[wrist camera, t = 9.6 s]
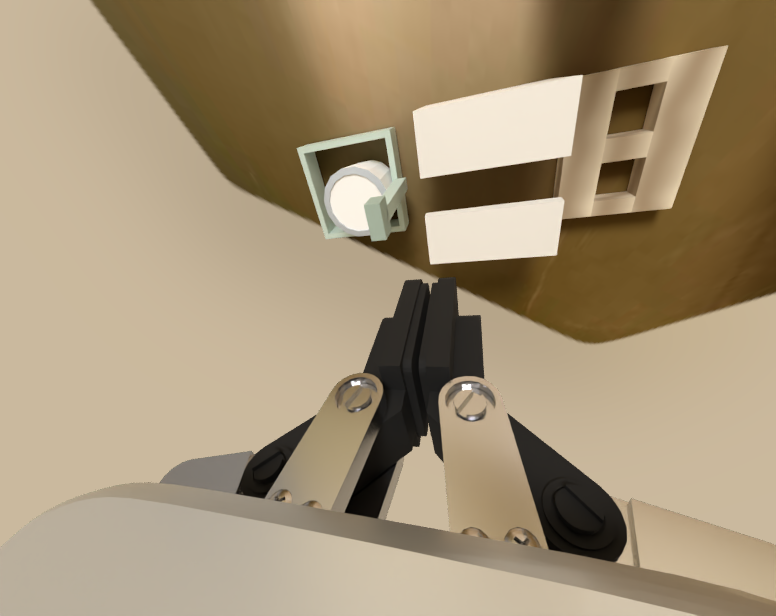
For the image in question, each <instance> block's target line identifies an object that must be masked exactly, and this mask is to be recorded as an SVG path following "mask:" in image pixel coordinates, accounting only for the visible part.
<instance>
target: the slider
mask: <svg viewBox="0 0 776 616" xmlns="http://www.w3.org/2000/svg"><path fill="white" fill-rule="evenodd" d="M381 138H385V141H386V147H387V153H388V159H389V165H390V171H391V177H392V183H391V185H390V186H389V187H388V188H387V190H386V191H385V192H384V194H383V195H382V196H377V197H370V199H369V200H368V201H367V202H366V203H365V204H364V209H365V214H366V218H367V222H368V227H369V231H370V236H371V240H372V241H380V240H387V238H388V236H389V234H390V232H399V231H406V229H407V226H408V224H409V219H408V212H407V205H406V198H405V193H406V191H407V182H406V177H405V178H402V171H401V164H400V158H399V151H398V144H397V137H396V130H395V127H391V128H386V129H381V130H376V131H371V132H366V133H362V134H357V135H352V136H347V137H342V138H337V139H332V140H327V141H322V142H318V143H313V144H308V145H305V146H302V147H299V148H297V151H298V154H299V157H300V160H301V163H302V166H303V169H304V172H305V176H306V179H307V182H308V185H309V188H310V191H311V194H312V198H313V201H314V204H315V207H316V210H317V213H318V216H319V220H320V223H321V226H322V229H323V232H324V235H325V238H326V239H332V238H341V237H351V236H355V235H351V234H348V233H346V232H344V231H343V230H341V229H340V228H339V227H337V226H336V225H335V224H334V222H333V221H332V220H331V218H330V217H329V215H328V213H327V210H326V207H325V203H324V193H325V186H324V182H323V179H322V176H321V172H320V169H319V165H318V162H317V158H316V155H315V151H320V150H325V149H330V148H335V147H340V146H345V145H350V144H355V143H360V142H365V141H371V140H376V139H381ZM396 209H397V213H398V219H393V220H391V218H392V216H393V214H394V212H395V211H396Z"/></svg>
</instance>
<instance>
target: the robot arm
mask: <svg viewBox="0 0 776 616" xmlns="http://www.w3.org/2000/svg"><path fill="white" fill-rule="evenodd" d="M428 423H429V427H430V432H431V436H432V440H433V445H434V450H435V453H436V454H437V456H438V457H439V458H440V459H441V460H442V461H443V463H444V470H445V482H446V494H447V505H448V516H449V527H450V532H449V531H443V530H438V529H432V528H427V527H421V526H415V525H409V524H404V523H399V522H393V521H387V520H385V519H386V516H387V513H388V510H389V507H390V504H391V501H392V498H393V495H394V492H395V488H396V485H397V482H398V479H399V476H400V473H401V470H402V467H403V461H404V456H405V455H407V454H408V453H409V452H410V451H412V448H413V446H416V447H419V445H420V438H421V436H427V431H428ZM0 616H776V545H774V544H772V543H769V542H766V541H763V540H760V539H756V538H753V537H750V536H747V535H744V534H741V533H737V532H734V531H731V530H728V529H725V528H722V527H719V526H716V525H713V524H710V523H707V522H704V521H700V520H697V519H694V518H691V517H688V516H685V515H682V514H679V513H676V512H673V511H670V510H666V509H663V508H660V507H657V506H654V505H651V504H648V503H645V502H642V501H638V500H635V499H632V498H631V499H630V501H629V502H627V501H624V500H621V499H617V498H614V497H612V496H609V495H608V494H607V493H606V492H605V491H604V490H603V489H602V488H601V487H600V486H599V485H598V484H596V483H595V482H594V481H592V480H591V479H590V478H589V477H587V476H586V475H585V474H583V473H582V472H581V471H580V470H579V469H577V468H576V467H575V466H574V465H572V464H571V463H570V462H569V461H567V460H566V459H565V458H563V457H562V456H561V455H559V454H558V453H557V452H556V451H555V450H553V449H552V448H551V447H549V446H548V445H547V444H546V443H544V442H543V441H542V440H541V439H539V438H538V437H537V436H536V435H534V434H533V433H532V432H531V431H529V430H528V429H527V428H525V427H524V426H523V425H522V424H520V423H519V422H518V421H517V420H515V419H514V418H513V417H512V416H510V415H509V414H508V413H507V412H506V408H505V405H504V402H503V398H502V396H501V394H500V392H499V390H498V389H497V388H496V387H495V386H494V385H493V384H492V383H490V382H488V381H487V380H485V379H484V368H483V349H482V332H481V316H480V315H473V316H459V315H458V301H457V287H456V278H455V277H452V278H439V279H438V283H433V284H432V288H431V294H430V291H429V285H428V283H423V282H422V280H421V279H420V280H406V281H405V283H404V286H403V289H402V292H401V295H400V298H399V301H398V304H397V307H396V311H395V314H394V317H393V318H384V319H383V320H382V322H381V325H380V328H379V331H378V333H377V336H376V339H375V342H374V345H373V347H372V350H371V352H370V355H369V358H368V361H367V364H366V366H365V369H364V372H363V373H357V374H353V375H350V376H348V377H346V378H344V379H342V380H341V381H340V382H338V383H337V385H336V386H335V387H334V388H333V390H332V391H331V393H330V394H329V396H328V397H327V399H326V401H325V402H324V404H323V406H322V407H321V409H320V410H319V412H318V413H317V415H315V416H314V417H312V418H310V419H309V420H307V421H306V422H304V423H302V424H301V425H299V426H298V427H296V428H294V429H293V430H291V431H290V432H288V433H286V434H285V435H283V436H281V437H280V438H278V439H277V440H275V441H274V442H272V443H270V444H269V445H267V446H265V447H264V448H263V449H261V450H260V451H259V452H258V453H256V454H253V452H252V451H248V452H241V453H235V454H227V455H220V456H212V457H205V458H198V459H192V460H188V461H185V462H182V463H181V464H179V465H177V466H176V467H174V468H173V469H172V470H171V471H169V472H168V473H167V474H166V475H165V476H164V477H163V479H162V480H161V481H160V483H149V482H148V483H130V484H122V485H117V486H112V487H108V488H104V489H100V490H97V491H94V492H90V493H87V494H84V495H81V496H78V497H75V498H73V499H70V500H68V501H66V502H63V503H61V504H59V505H57V506H55V507H53V508H51V509H49V510H47V511H46V512H44V513H42V514H41V515H39V516H38V517H36V518H35V519H33V520H32V521H30V522H29V523H28V524H27V525H25V526H24V527H23V528H22V529H20V530H19V531H18V532H17V533H16V534H15V535H13V536H12V537H11V538H10V539H9V540H8V541H7V542H6V543H5V544H3V545H2V546H1V547H0Z"/></svg>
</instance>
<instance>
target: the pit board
mask: <svg viewBox="0 0 776 616" xmlns="http://www.w3.org/2000/svg"><path fill="white" fill-rule="evenodd" d="M727 48H728V45H727V46H721V47H715V48H709V49H705V50H700V51H696V52H691V53H686V54H682V55H677V56H672V57H668V58H663V59H658V60H654V61H649V62H644V63H640V64H635V65H630V66H626V67H621V68H616V69H612V70H607V71H602V72H598V73H593V74H588V75H584V76H583V78H582V85H581V92H580V98H579V105H578V112H577V119H576V126H575V133H574V139H573V146H572V153H571V156H567V157H560V158H558V161H557V169H556V177H555V185H554V193H553V198H557V197H562V198H563V199H564V208H563V214H562V219H570V218H580V217H590V216H600V215H610V214H620V213H630V212H640V211H650V210H659V209H669V208H672V205H673V202H674V200H675V197H676V194H677V191H678V188H679V185H680V182H681V180H682V177H683V174H684V171H685V168H686V165H687V162H688V159H689V157H690V154H691V151H692V148H693V145H694V142H695V139H696V137H697V134H698V131H699V128H700V125H701V122H702V119H703V117H704V114H705V111H706V108H707V105H708V102H709V99H710V97H711V94H712V91H713V88H714V85H715V82H716V79H717V76H718V74H719V71H720V68H721V65H722V62H723V59H724V56H725V54H726V51H727ZM651 84H654V87H653V90H652V94H651V98H650V102H649V106H648V110H647V114H646V118H645V122H644V126H643V129H640V130H634V131H628V132H622V133H616V134H610V135H607V133H608V128H609V123H610V118H611V113H612V108H613V103H614V98H615V93H616V91H620V90H625V89H630V88H635V87H640V86H645V85H651ZM629 159H635V161H634V164H633V168H632V172H631V176H630V180H629V184H628V188H627V191H624V192H616V193H607V194H599V195H595V193H596V188H597V183H598V178H599V173H600V168H601V163H608V162H615V161H622V160H629Z"/></svg>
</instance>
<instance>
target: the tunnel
mask: <svg viewBox="0 0 776 616" xmlns="http://www.w3.org/2000/svg"><path fill="white" fill-rule="evenodd" d="M582 78H583V75H577V76H568V77H560V78H552V79H546V80H542V81H537V82H532V83H528V84H523V85H519V86H514V87H510V88H505V89H500V90H496V91H491V92H487V93H482V94H477V95H473V96H468V97H464V98H459V99H455V100H450V101H445V102H441V103H436V104H432V105H427V106H424V107H422V108H419V109H417V110H415V111H413V119H414V127H415V136H416V145H417V153H418V162H419V171H420V179H422V178H428V177H435V176H441V175H448V174H455V173H461V172H468V171H474V170H481V169H488V168H494V167H501V166H507V165H514V164H521V163H527V162H534V161H540V160H547V159H554V158H560V157H567V156H571V153H572V146H573V139H574V133H575V126H576V119H577V112H578V105H579V98H580V92H581V85H582ZM563 208H564V199H563V198H562V197H557V198H548V199H540V200H532V201H523V202H515V203H506V204H498V205H490V206H481V207H473V208H464V209H456V210H448V211H439V212H431V213H426V215H425V222H426V231H427V240H428V248H429V257H430V264H441V263H455V262H469V261H483V260H497V259H511V258H525V257H539V256H553V255H557V249H558V242H559V235H560V228H561V221H562V214H563Z"/></svg>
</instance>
